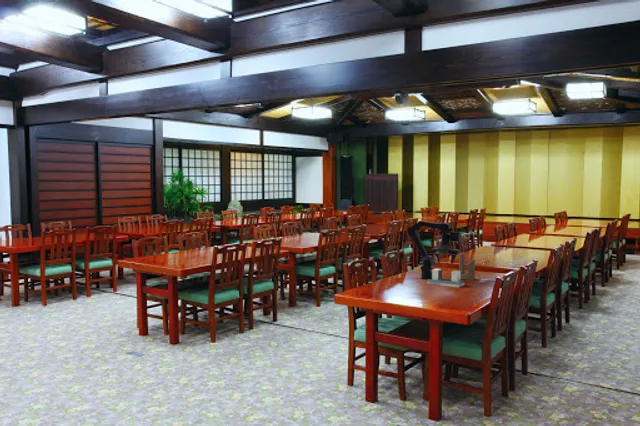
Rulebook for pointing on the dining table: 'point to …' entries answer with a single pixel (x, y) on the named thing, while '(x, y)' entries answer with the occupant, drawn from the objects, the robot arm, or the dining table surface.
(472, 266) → the beige frame piece
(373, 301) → the dining table surface
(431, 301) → the dining table surface
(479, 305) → the dining table surface
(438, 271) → the white rectangular block
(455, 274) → the rail
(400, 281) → the dining table surface
